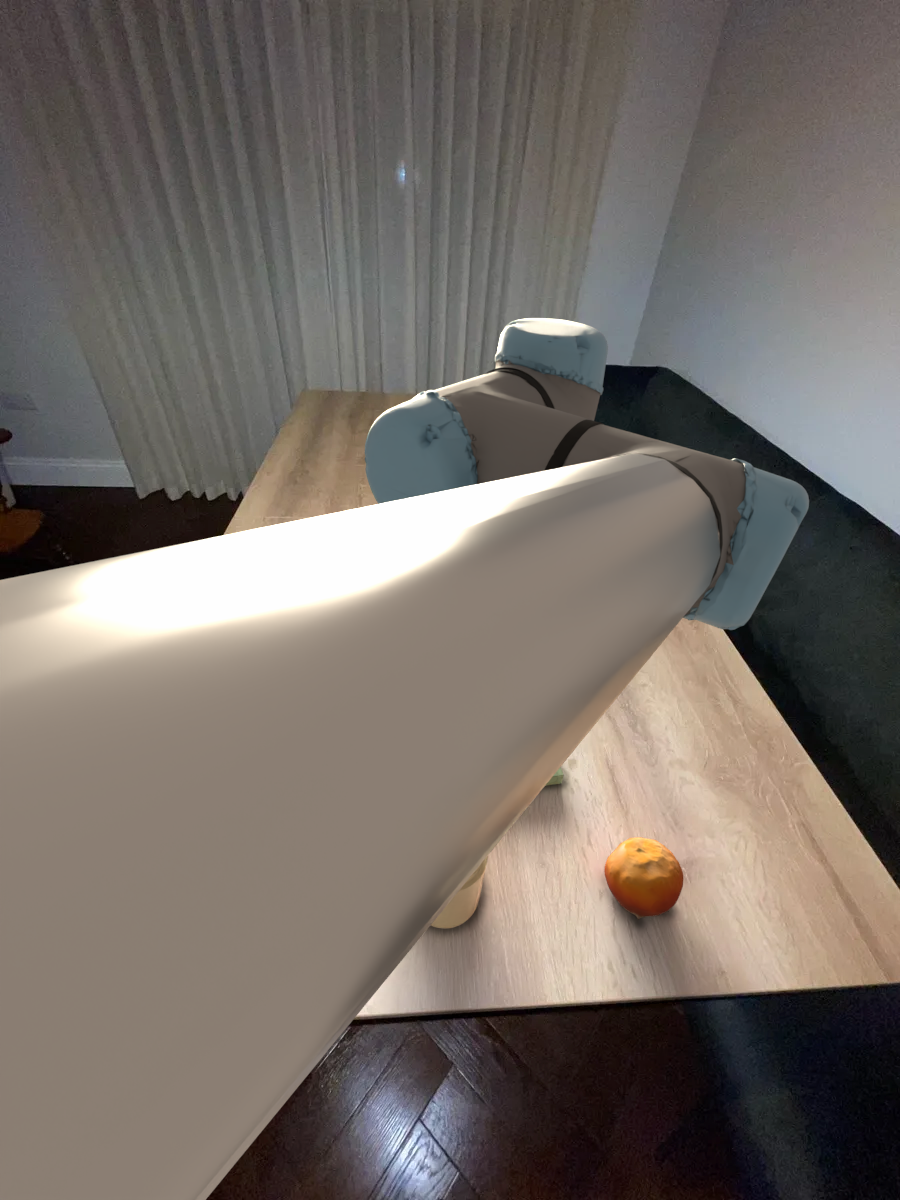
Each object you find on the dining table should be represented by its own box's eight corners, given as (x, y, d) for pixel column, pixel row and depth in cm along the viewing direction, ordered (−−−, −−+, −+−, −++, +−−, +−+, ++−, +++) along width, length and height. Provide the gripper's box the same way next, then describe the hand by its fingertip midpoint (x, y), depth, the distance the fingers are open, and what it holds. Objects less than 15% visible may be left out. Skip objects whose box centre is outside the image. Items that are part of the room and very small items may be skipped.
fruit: (645, 952, 55) (638, 884, 53) (597, 904, 62) (589, 843, 61) (703, 919, 58) (697, 854, 56) (650, 877, 65) (644, 818, 64)
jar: (413, 934, 56) (415, 891, 50) (405, 859, 62) (406, 812, 56) (486, 922, 57) (497, 878, 51) (471, 850, 64) (480, 802, 57)
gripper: (566, 610, 36) (521, 791, 50) (570, 477, 53) (535, 642, 67) (459, 593, 37) (444, 776, 51) (495, 467, 54) (476, 632, 68)
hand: (495, 700), depth 59 cm, fingers closed on lid, 9 cm apart
